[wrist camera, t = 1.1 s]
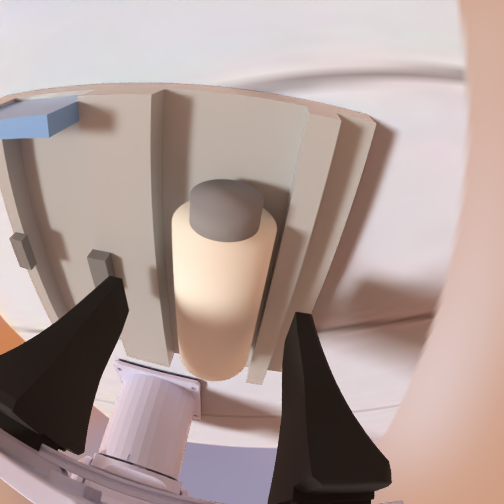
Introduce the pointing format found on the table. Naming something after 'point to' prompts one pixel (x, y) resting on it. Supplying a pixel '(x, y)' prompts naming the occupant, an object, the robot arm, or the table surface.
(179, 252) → the cream cylinder
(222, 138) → the beige mounting plate
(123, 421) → the robot arm
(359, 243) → the table surface
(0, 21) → the table surface
